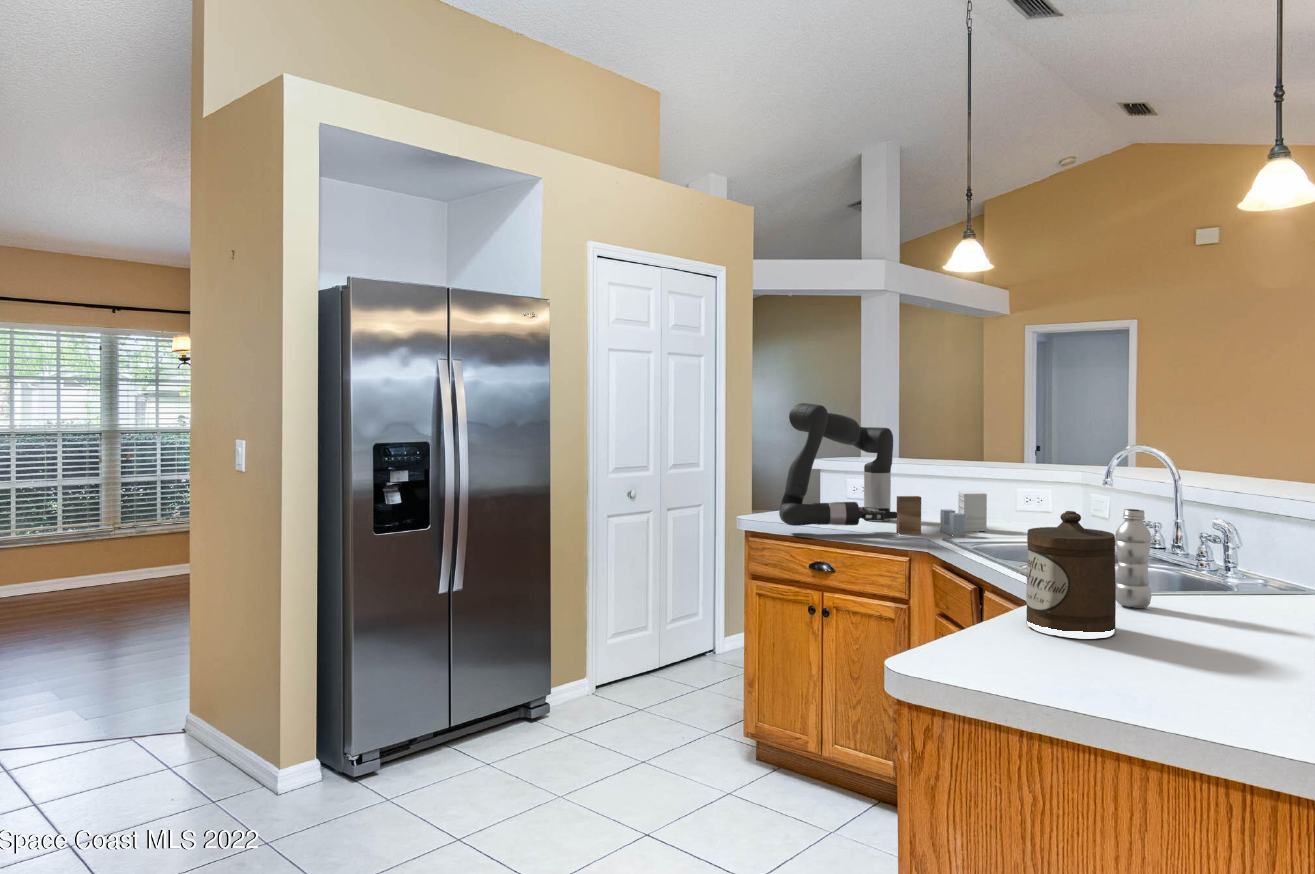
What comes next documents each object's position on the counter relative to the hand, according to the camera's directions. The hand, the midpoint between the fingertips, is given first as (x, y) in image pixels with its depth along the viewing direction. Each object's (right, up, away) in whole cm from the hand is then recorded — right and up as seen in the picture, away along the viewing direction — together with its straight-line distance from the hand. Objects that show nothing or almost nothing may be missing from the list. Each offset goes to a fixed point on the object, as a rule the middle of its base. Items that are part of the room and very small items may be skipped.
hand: (893, 513), depth 266 cm
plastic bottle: (+22, -11, -96) cm, 99 cm away
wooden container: (+1, -11, -112) cm, 113 cm away
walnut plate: (+5, -7, 0) cm, 8 cm away
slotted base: (+19, -7, 0) cm, 20 cm away
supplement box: (+28, -6, +7) cm, 30 cm away
